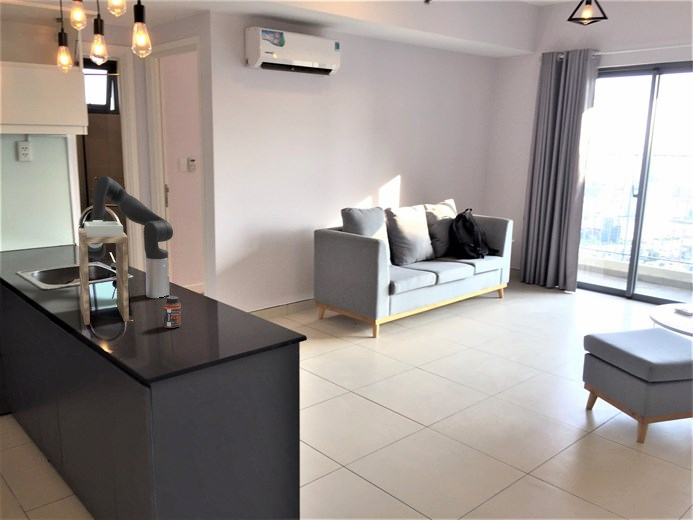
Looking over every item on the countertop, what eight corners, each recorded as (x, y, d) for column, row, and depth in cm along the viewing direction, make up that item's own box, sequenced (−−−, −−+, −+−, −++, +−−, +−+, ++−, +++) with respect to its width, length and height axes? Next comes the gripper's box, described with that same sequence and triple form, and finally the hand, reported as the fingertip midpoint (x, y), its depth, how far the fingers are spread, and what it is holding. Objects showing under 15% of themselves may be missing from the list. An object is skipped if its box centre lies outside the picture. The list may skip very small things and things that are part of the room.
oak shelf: (120, 305, 237) (119, 228, 231) (129, 321, 216) (127, 237, 210) (80, 308, 230) (78, 228, 224) (85, 325, 209) (82, 237, 203)
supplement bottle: (171, 330, 209) (171, 300, 207) (160, 327, 212) (160, 297, 210) (184, 326, 214) (184, 297, 212) (172, 323, 217) (172, 294, 215)
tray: (112, 225, 238) (112, 215, 237) (123, 236, 211) (123, 225, 210) (80, 225, 233) (80, 215, 232) (87, 237, 205) (86, 226, 204)
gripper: (76, 228, 243) (77, 212, 228) (112, 228, 249) (116, 212, 235) (77, 245, 241) (79, 229, 226) (113, 244, 247) (117, 229, 233)
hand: (98, 220), depth 231 cm, fingers closed on tray, 4 cm apart
